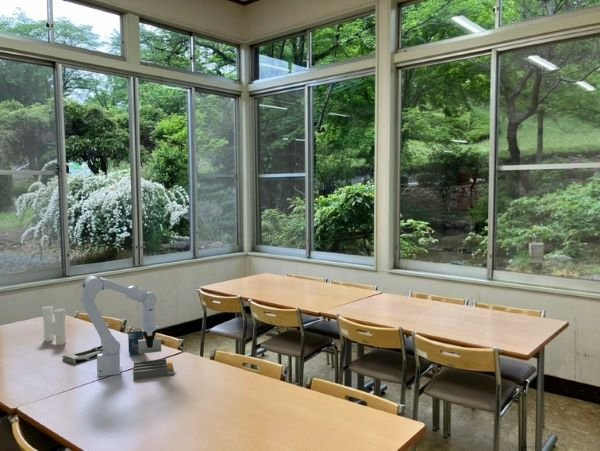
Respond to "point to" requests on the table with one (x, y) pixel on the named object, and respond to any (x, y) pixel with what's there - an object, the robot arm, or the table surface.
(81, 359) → the graphics card
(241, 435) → the table surface
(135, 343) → the soda can
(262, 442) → the table surface
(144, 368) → the rack
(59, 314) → the binoculars
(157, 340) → the panel
